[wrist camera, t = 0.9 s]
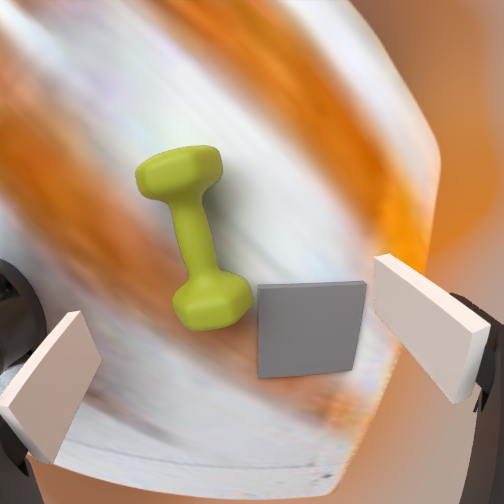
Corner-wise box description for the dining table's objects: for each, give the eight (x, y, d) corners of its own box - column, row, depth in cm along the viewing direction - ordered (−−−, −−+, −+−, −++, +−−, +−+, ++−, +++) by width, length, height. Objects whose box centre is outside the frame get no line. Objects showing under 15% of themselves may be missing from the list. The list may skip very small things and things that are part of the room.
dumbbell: (253, 295, 34) (258, 328, 27) (183, 308, 34) (172, 343, 27) (220, 141, 29) (216, 136, 22) (143, 161, 29) (118, 162, 22)
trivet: (257, 373, 37) (258, 378, 36) (258, 284, 34) (258, 288, 33) (349, 365, 38) (351, 370, 37) (363, 280, 34) (366, 284, 33)
